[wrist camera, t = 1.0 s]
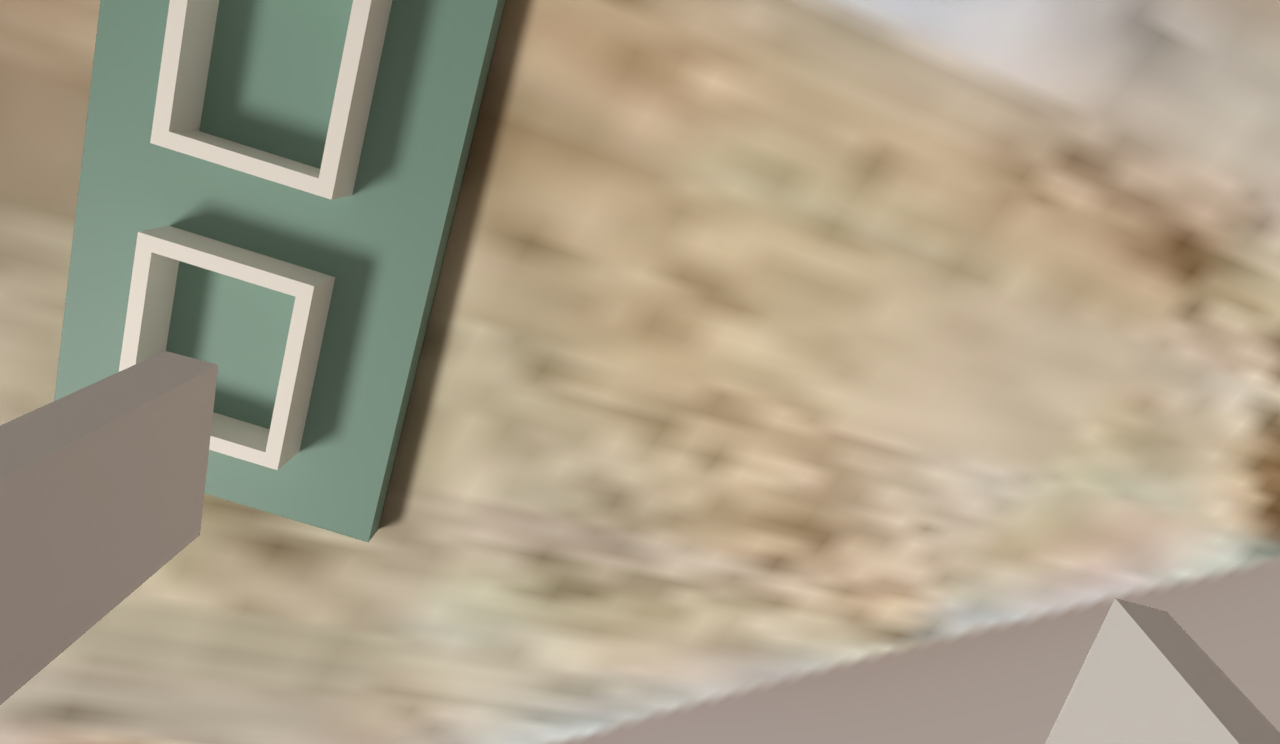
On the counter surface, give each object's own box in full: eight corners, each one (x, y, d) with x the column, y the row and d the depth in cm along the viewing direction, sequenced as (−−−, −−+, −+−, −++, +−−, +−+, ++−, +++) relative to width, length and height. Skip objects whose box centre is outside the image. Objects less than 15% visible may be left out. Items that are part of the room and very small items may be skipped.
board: (141, -161, 31) (81, -193, 28) (515, -40, 32) (496, -57, 29) (68, 436, 38) (13, 464, 35) (377, 529, 38) (350, 565, 35)
